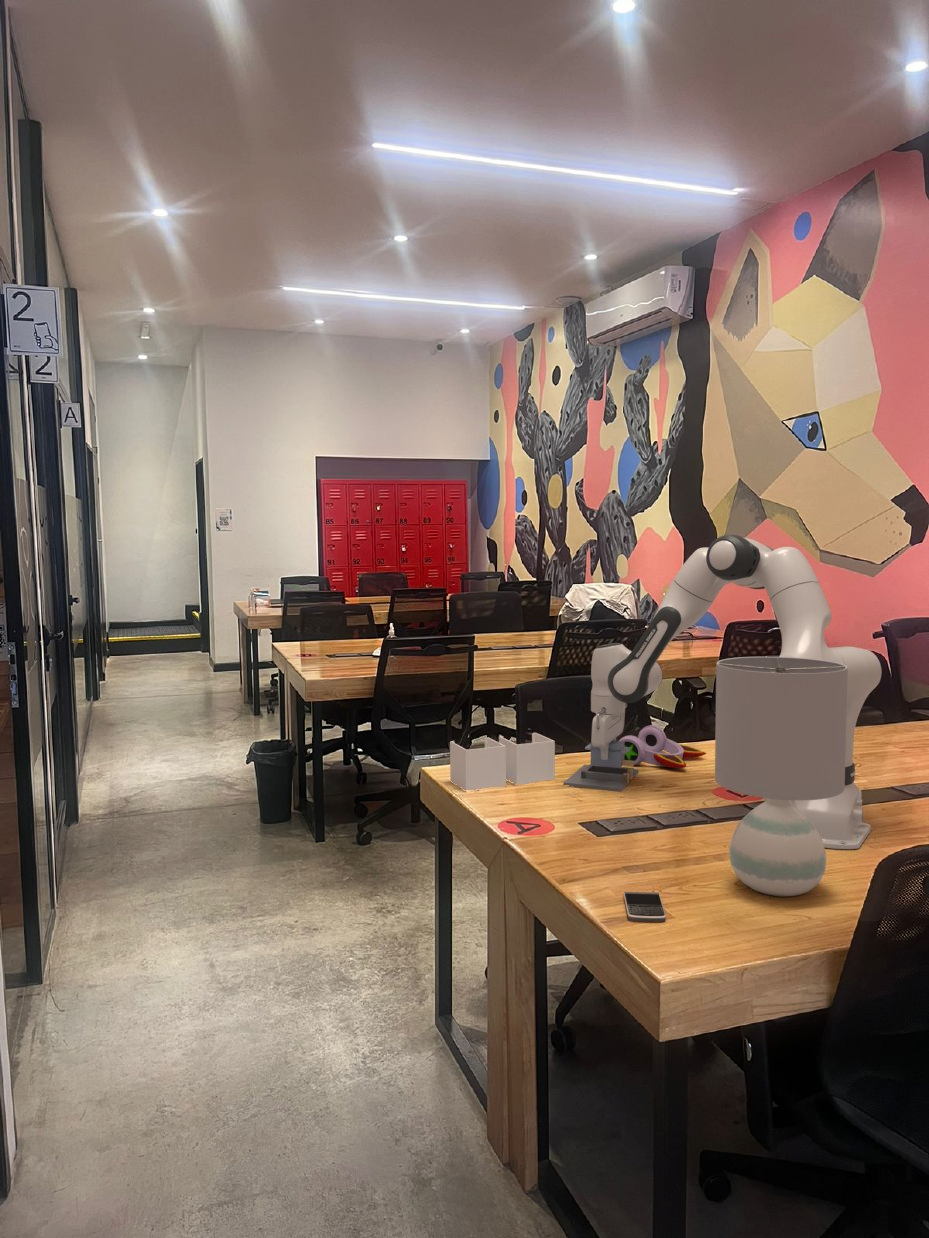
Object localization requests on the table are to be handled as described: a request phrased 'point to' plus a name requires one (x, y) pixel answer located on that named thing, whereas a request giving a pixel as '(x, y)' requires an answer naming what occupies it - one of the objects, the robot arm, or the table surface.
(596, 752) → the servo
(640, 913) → the cell phone
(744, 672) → the lamp
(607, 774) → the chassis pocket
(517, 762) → the double compartment bin
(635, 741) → the headphones
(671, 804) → the table surface
